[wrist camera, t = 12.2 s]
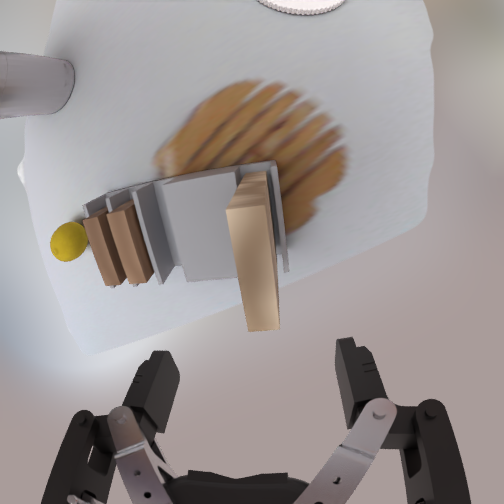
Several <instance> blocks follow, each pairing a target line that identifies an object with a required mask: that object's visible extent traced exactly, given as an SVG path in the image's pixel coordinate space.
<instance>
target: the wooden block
mask: <svg viewBox="0 0 504 504" xmlns="http://www.w3.org/2000/svg"><path fill="white" fill-rule="evenodd" d="M226 215H227V221H228V226H229V232H230V237H231V243H232V248H233V253H234V259H235V264H236V270H237V275H238V280H239V285H240V291H241V296H242V301H243V306H244V311H245V316H246V321H247V326H248V331H249V332H254V331H267V330H278V329H280V319H279V296H278V275H277V256H276V243H275V234H274V226H273V218H272V210H271V202H270V194H269V186H268V178H267V171H258V172H251V173H245V175H244V177H243V179H242V180H241V182H240V184H239V186H238V188H237V190H236V191H235V193H234V195H233V197H232V199H231V201H230V203H229V204H228V206H227V208H226Z"/></svg>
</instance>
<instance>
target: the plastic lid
mask: <svg viewBox="0 0 504 504" xmlns="http://www.w3.org/2000/svg"><path fill="white" fill-rule="evenodd" d="M257 1H260V3H264V5H268V7H272V9H277V10H278V11H279V10H281V11H282V12H287V13H292V14H294V13H296V14H297V15H299V14H302V15H304V14H307V15H309V14H312V15H314V14H315V13H316V14H319V13H323V12H327V11H328V10H329V11H331V9H335V7H336V8H337V7H338V6H340V5H341V3H343V2H344V1H345V0H257Z"/></svg>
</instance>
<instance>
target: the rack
mask: <svg viewBox="0 0 504 504" xmlns="http://www.w3.org/2000/svg"><path fill="white" fill-rule="evenodd" d="M258 171H267V178H268V186H269V194H270V202H271V210H272V218H273V226H274V234H275V243H276V255H277V254H282V257H283V266H284V272H289V263H288V253H287V244H286V235H285V227H284V218H283V210H282V202H281V194H280V186H279V179H278V171H277V165H276V161H275V160H270V161H263V162H255V163H248V164H241V165H235V166H229V167H223V168H217V169H211V170H205V171H200V172H195V173H190V174H185V175H180V176H175V177H170V178H166V179H161V180H157V181H152V182H148V183H144V184H140V185H136V186H132V187H128V188H124V189H120V190H116V191H113V192H109V193H106V194H104V195H102V196H100V197H98V198H96V199H94V200H92V201H90V202H88V203H86V204H84V205H82V206H83V209H84V213H85V216H86V218H87V217H89V216H90V215H92V214H94V213H96V212H97V211H99V210H101V209H102V208H104V207H106V206H107V207H108V211H109V213H110V212H111V211H113V210H114V209H116V208H118V207H119V206H121V205H123V204H124V203H126V202H128V201H130V200H131V199H133V200H134V204H135V208H136V211H137V215H138V219H139V222H140V226H141V230H142V233H143V236H144V240H145V243H146V247H147V250H148V253H149V256H150V259H151V263H152V266H153V269H154V272H155V275H156V278H157V281H158V284H159V285H160V284H164V282H165V280H166V279H167V277H168V276H169V274H170V272H171V271H172V269H173V268H174V266H179V265H182V267H183V270H184V273H185V277H186V280H187V282H195V281H206V280H217V279H227V278H237V277H238V275H237V270H236V264H235V259H234V253H233V248H232V243H231V237H230V232H229V226H228V221H227V215H226V208H227V206H228V204H229V203H230V201H231V199H232V197H233V195H234V193H235V191H236V190H237V188H238V186H239V184H240V182H241V180H242V179H243V177H244V175H245V173H251V172H258ZM138 285H139V283H137V284H133V287H135V286H138ZM115 286H116V285H112V286H110V287H111V288H115Z"/></svg>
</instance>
